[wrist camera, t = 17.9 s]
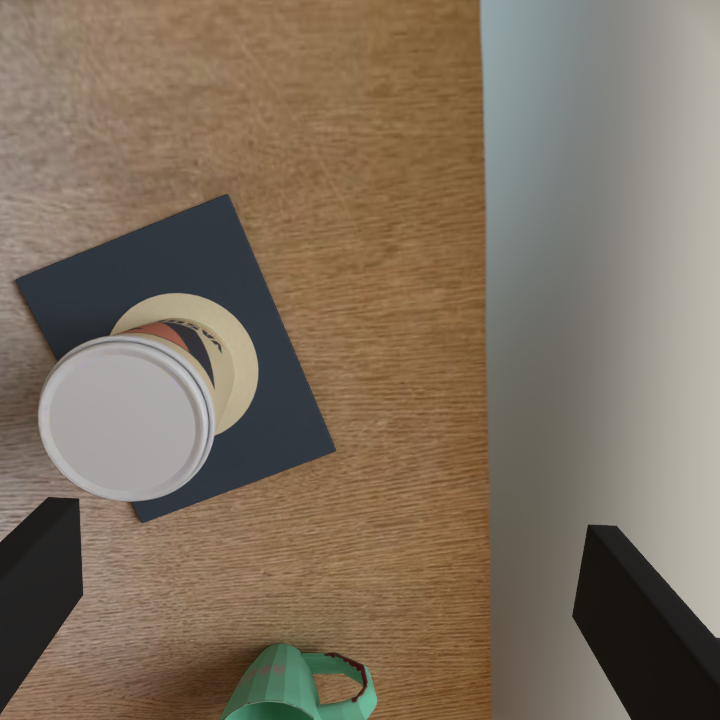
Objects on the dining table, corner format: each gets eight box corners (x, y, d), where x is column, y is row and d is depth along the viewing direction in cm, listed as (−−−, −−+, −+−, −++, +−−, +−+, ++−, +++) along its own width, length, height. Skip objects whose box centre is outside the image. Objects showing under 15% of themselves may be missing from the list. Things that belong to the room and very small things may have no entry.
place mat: (336, 449, 45) (335, 451, 45) (143, 520, 46) (141, 524, 46) (228, 194, 41) (227, 193, 40) (17, 279, 42) (13, 279, 41)
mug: (255, 716, 51) (239, 809, 43) (217, 640, 49) (192, 722, 41) (388, 671, 50) (396, 757, 42) (354, 592, 48) (356, 666, 40)
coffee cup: (258, 321, 42) (225, 360, 31) (234, 442, 44) (195, 522, 33) (126, 291, 42) (41, 320, 30) (107, 416, 44) (21, 488, 32)
